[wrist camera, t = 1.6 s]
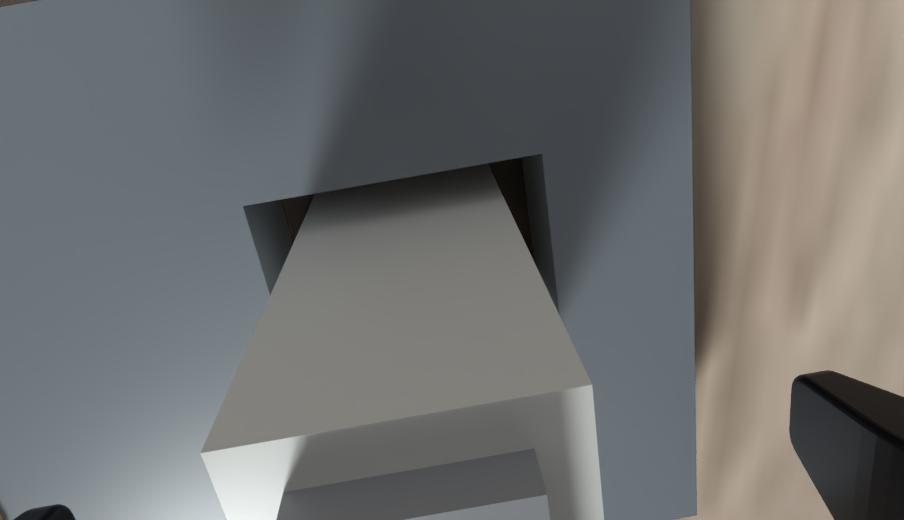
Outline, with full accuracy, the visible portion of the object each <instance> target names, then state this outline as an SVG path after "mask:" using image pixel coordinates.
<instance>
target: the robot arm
mask: <svg viewBox="0 0 904 520" xmlns="http://www.w3.org/2000/svg"><path fill="white" fill-rule="evenodd" d="M789 430H790V438H791V442H792V445H793V447H794V449H795V451H796V453H797V455H798V457H799V459H800V460H801V462H802V464H803V466H804V467H805V469H806V471H807V473H808V474H809V476H810V478H811V480H812V481H813V483H814V485H815V487H816V488H817V490H818V492H819V494H820V495H821V497H822V499H823V501H824V502H825V504H826V506H827V508H828V509H829V511H830V513H831V515H832V517H833V518H834V520H904V397H902V396H899V395H896V394H894V393H891V392H888V391H886V390H883V389H880V388H877V387H875V386H872V385H869V384H867V383H864V382H861V381H858V380H856V379H853V378H850V377H848V376H845V375H842V374H839V373H837V372H834V371H820V372H815V373H809V374H803V375H799V376H798V377H796V378H795V379H794V381H793V383H792V391H791V409H790V427H789ZM13 520H76V519H75V517H74V515H73V513H72V512H71V510H70V509H69V508H68V507H66V506H65V505H61V504H56V505H50V506H44V507H38V508H33V509H30V510H27V511H25V512H23V513H22V514H20V515H19V516H18V517H16V518H15V519H13Z"/></svg>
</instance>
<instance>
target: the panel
mask: <svg viewBox="0 0 904 520" xmlns="http://www.w3.org/2000/svg"><path fill="white" fill-rule="evenodd" d="M521 157H522V164H523V173H524V181H525V189H526V198H527V206H528V214H529V223H530V231H531V239H532V248H533V256H534V263H535V265H536V267H537V269H538V271H539V273H540V275H541V277H542V279H543V282H544V284H545V286H546V288H547V290H548V292H549V294H550V296H551V299H552V301H553V303H554V305H555V307H556V309H557V311H558V313H559V315H560V318H561V320H562V322H563V324H564V326H565V328H566V330H567V332H568V334H569V337H570V339H571V341H572V343H573V345H574V347H575V349H576V351H577V354H578V356H579V358H580V360H581V362H582V364H583V366H584V368H585V370H586V373H587V375H588V377H589V379H590V381H591V383H592V388H593V399H594V410H595V422H596V433H597V444H598V456H599V467H600V478H601V490H602V501H603V512H604V520H672V519H678V518H684V517H689V516H695V515H697V488H696V409H695V330H694V251H693V173H692V94H691V15H690V0H37V1H32V2H26V3H20V4H15V5H9V6H3V7H0V520H13V519H15V518H16V517H18V516H19V515H20V514H22V513H23V512H25V511H27V510H30V509H33V508H38V507H44V506H50V505H56V504H61V505H65V506H66V507H68V508H69V509H70V510H71V512H72V513H73V515H74V517H75V519H76V520H227V519H226V516H225V514H224V511H223V509H222V506H221V504H220V501H219V499H218V496H217V494H216V491H215V489H214V486H213V484H212V481H211V479H210V476H209V474H208V471H207V469H206V466H205V464H204V461H203V459H202V456H201V451H202V448H203V446H204V444H205V442H206V439H207V437H208V435H209V433H210V430H211V428H212V426H213V424H214V421H215V419H216V417H217V415H218V412H219V410H220V408H221V405H222V403H223V401H224V399H225V396H226V394H227V392H228V390H229V387H230V385H231V383H232V381H233V378H234V376H235V374H236V372H237V369H238V367H239V365H240V363H241V360H242V358H243V356H244V354H245V351H246V349H247V347H248V344H249V342H250V340H251V338H252V335H253V333H254V331H255V329H256V326H257V324H258V322H259V320H260V317H261V315H262V313H263V311H264V308H265V306H266V304H267V302H268V299H269V297H270V295H271V292H272V290H273V288H274V286H275V283H276V281H277V279H278V277H279V274H280V272H281V270H282V268H283V265H284V263H285V261H286V259H287V256H288V254H289V252H290V250H291V247H292V245H293V241H292V238H291V234H290V231H289V227H288V223H287V220H286V216H285V213H284V209H283V206H282V202H281V199H287V198H293V197H298V196H304V195H310V194H315V193H321V192H327V191H333V190H338V189H344V188H350V187H355V186H361V185H367V184H372V183H378V182H384V181H390V180H395V179H401V178H407V177H412V176H418V175H424V174H429V173H435V172H441V171H447V170H452V169H458V168H464V167H469V166H475V165H481V164H487V163H492V162H498V161H504V160H509V159H515V158H521Z"/></svg>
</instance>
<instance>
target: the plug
mask: <svg viewBox="0 0 904 520" xmlns="http://www.w3.org/2000/svg"><path fill="white" fill-rule="evenodd" d="M201 456H202V459H203V461H204V464H205V466H206V469H207V471H208V474H209V476H210V479H211V481H212V484H213V486H214V489H215V491H216V494H217V496H218V499H219V501H220V504H221V506H222V509H223V511H224V514H225V516H226V519H227V520H604V512H603V501H602V490H601V478H600V467H599V456H598V444H597V433H596V422H595V410H594V399H593V388H592V383H591V381H590V379H589V377H588V375H587V373H586V370H585V368H584V366H583V364H582V362H581V360H580V358H579V356H578V354H577V351H576V349H575V347H574V345H573V343H572V341H571V339H570V337H569V334H568V332H567V330H566V328H565V326H564V324H563V322H562V320H561V318H560V315H559V313H558V311H557V309H556V307H555V305H554V303H553V301H552V299H551V296H550V294H549V292H548V290H547V288H546V286H545V284H544V282H543V279H542V277H541V275H540V273H539V271H538V269H537V267H536V265H535V263H534V260H533V258H532V256H531V254H530V252H529V250H528V248H527V246H526V243H525V241H524V239H523V237H522V235H521V233H520V231H519V229H518V227H517V224H516V222H515V220H514V218H513V216H512V214H511V212H510V210H509V208H508V205H507V203H506V201H505V199H504V197H503V195H502V193H501V191H500V188H499V186H498V184H497V182H496V180H495V178H494V176H493V174H492V172H491V169H490V167H489V165H488V164H484V165H478V166H473V167H467V168H461V169H456V170H450V171H444V172H438V173H433V174H427V175H421V176H416V177H410V178H404V179H399V180H393V181H387V182H381V183H376V184H370V185H364V186H359V187H353V188H347V189H342V190H336V191H330V192H324V193H319V194H315V195H314V198H313V200H312V202H311V204H310V207H309V209H308V211H307V213H306V216H305V218H304V220H303V222H302V225H301V227H300V229H299V231H298V234H297V236H296V238H295V240H294V243H293V245H292V247H291V250H290V252H289V254H288V256H287V259H286V261H285V263H284V265H283V268H282V270H281V272H280V274H279V277H278V279H277V281H276V283H275V286H274V288H273V290H272V292H271V295H270V297H269V299H268V302H267V304H266V306H265V308H264V311H263V313H262V315H261V317H260V320H259V322H258V324H257V326H256V329H255V331H254V333H253V335H252V338H251V340H250V342H249V344H248V347H247V349H246V351H245V354H244V356H243V358H242V360H241V363H240V365H239V367H238V369H237V372H236V374H235V376H234V378H233V381H232V383H231V385H230V387H229V390H228V392H227V394H226V396H225V399H224V401H223V403H222V405H221V408H220V410H219V412H218V415H217V417H216V419H215V421H214V424H213V426H212V428H211V430H210V433H209V435H208V437H207V439H206V442H205V444H204V446H203V448H202V451H201Z"/></svg>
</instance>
